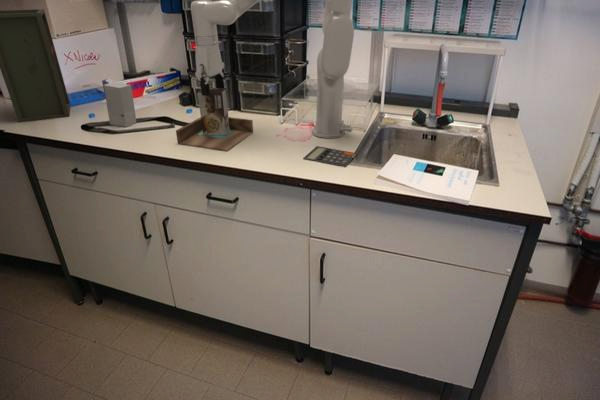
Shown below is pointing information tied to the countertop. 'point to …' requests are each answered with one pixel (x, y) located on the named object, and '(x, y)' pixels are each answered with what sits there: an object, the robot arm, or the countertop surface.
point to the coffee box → (214, 112)
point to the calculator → (330, 156)
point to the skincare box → (120, 104)
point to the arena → (195, 137)
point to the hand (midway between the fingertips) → (213, 91)
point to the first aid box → (31, 66)
